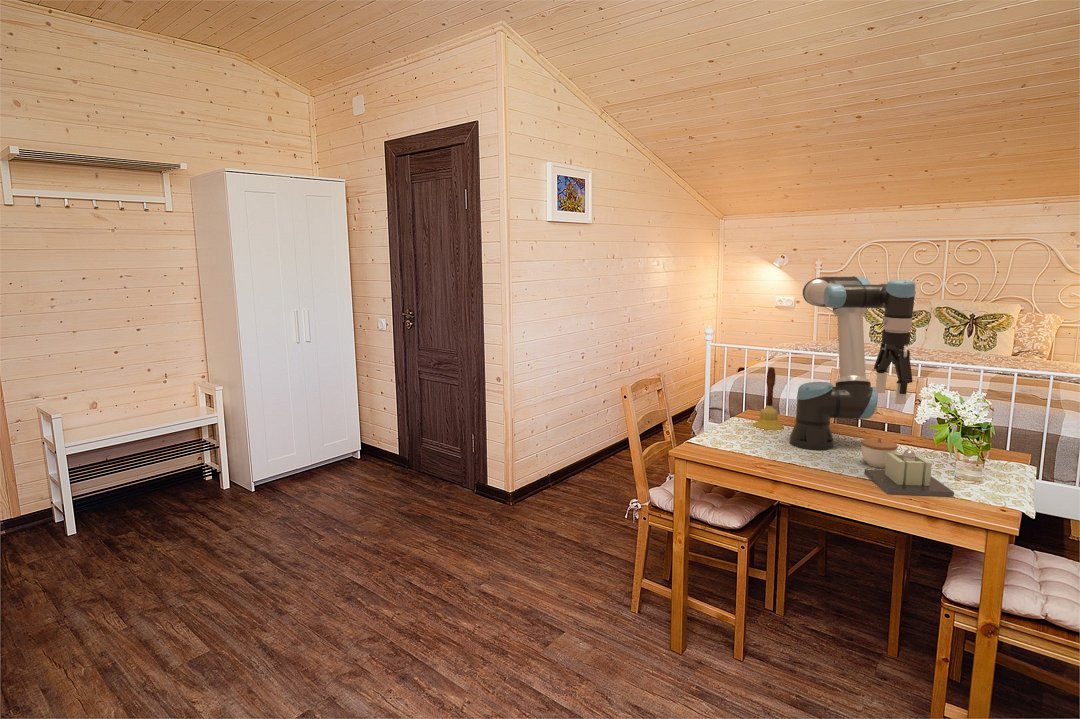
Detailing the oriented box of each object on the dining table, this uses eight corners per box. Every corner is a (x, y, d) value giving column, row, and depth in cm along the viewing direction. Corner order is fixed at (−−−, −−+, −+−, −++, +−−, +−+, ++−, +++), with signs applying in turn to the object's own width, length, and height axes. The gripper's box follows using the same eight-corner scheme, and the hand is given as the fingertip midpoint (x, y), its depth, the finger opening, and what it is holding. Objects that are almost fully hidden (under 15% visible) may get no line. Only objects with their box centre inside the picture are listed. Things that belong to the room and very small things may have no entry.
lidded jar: (884, 459, 213) (886, 433, 212) (902, 470, 203) (905, 442, 201) (853, 459, 213) (855, 433, 212) (870, 470, 203) (872, 442, 201)
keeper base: (864, 473, 199) (866, 440, 197) (923, 475, 197) (926, 442, 195) (887, 494, 181) (891, 458, 180) (953, 496, 179) (957, 460, 177)
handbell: (748, 423, 262) (750, 365, 258) (776, 422, 263) (779, 365, 259) (760, 431, 250) (763, 370, 246) (789, 430, 250) (793, 370, 246)
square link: (884, 474, 194) (886, 453, 193) (915, 475, 193) (917, 454, 192) (897, 484, 185) (899, 462, 184) (929, 485, 184) (931, 463, 183)
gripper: (866, 325, 201) (860, 388, 205) (903, 337, 177) (895, 408, 181) (890, 325, 200) (884, 388, 204) (930, 337, 176) (922, 409, 180)
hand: (889, 398), depth 192 cm, fingers open, 13 cm apart
